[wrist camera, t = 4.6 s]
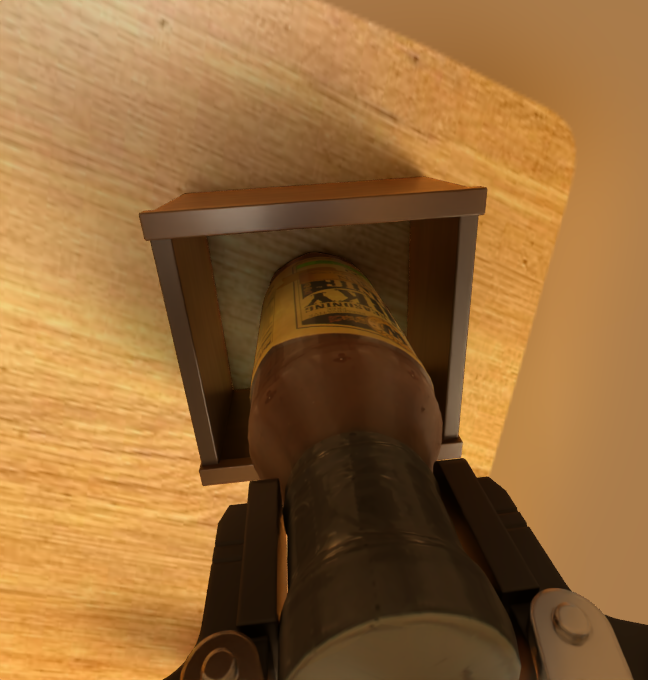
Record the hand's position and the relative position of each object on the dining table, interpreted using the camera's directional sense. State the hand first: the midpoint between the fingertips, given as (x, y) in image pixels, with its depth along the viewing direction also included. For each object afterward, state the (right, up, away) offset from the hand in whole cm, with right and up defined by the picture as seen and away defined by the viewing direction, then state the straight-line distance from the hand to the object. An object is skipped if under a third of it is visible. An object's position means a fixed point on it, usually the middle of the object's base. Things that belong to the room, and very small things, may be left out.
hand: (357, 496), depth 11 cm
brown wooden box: (-1, +6, +14) cm, 15 cm away
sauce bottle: (-1, +6, +14) cm, 15 cm away
